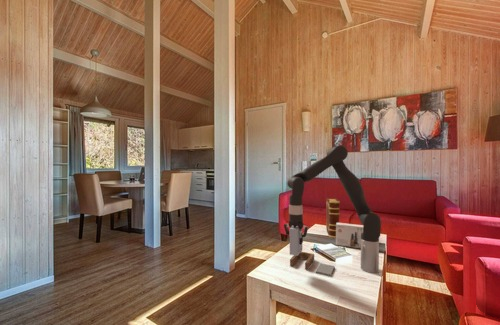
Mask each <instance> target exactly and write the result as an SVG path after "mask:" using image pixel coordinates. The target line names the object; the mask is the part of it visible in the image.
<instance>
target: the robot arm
mask: <svg viewBox="0 0 500 325" xmlns="http://www.w3.org/2000/svg"><path fill="white" fill-rule="evenodd" d="M348 154H349V153H348V149H347V148H346V147H345V146H344V145H336V146H333V147H330V148H329V149H328V150H327V151H326V156H324V157H323V158H321V159H319V160H317V161H315V162H313V163H312V164H310V165H308V166H307V167H305V168H304V169H303V170H302V171H299V172H297V173H295V174H294V175H292V176H290V177H289V178H288V180H287V182H286V184H287V186H288V188H289V189H290V190H291V189H292V191H291V194H289V198H288V200H289V203H288V223H287V222H286V223H284V224H283V227H284V232H285V234H286V235H287V236H288V237H289V239H290V233H289V229H290V228H291V227H292V228H294V227H295V228H299V237H300V238H299V243H300V245H301V244H302V245H303V243H304V238H306V236H307V233H308V232H309V226H308V225H305V224H304V221H303V220H304V213H303V211H304V210H303V195H304V191H305V183H306V182H311V181H312V180H313V179H315V178H316V177H318V176H319V175H320V174H322V173H323V172H325V171H326V170H328V169H329V168H330V167H332V168H333V170H334V171H335V173H336V175H337V176H338V179H339V181H340V182H341V184H342V187H343V188H344V189H343V190H344V191H345V193H346V194H347V196H348V198H349V200H350V201H351V204H352V205H353V206H354V209H355V211H356V214H357V218H358V219H359V221H360V223H361V225H363V233H361V248H360V269H361V270H362V271H364V272H367V273H372V274H373V273H374V274H379V272H380V270H379V267H380V262H379V260H380V257H379V256H380V254H379V252H380V251H379V248H380V247H379V246H380V245H379V244H380V237H381V229H382V227H381V226H382V221H381V217H380V215H378V214H377V213H375V212H373V211H372V209H371V208H370V206H369V205H368V203H367V202H368V201H366V196H365V195H366V194H365V191H364V189H363V188H364V187H363V186H362V183H361V182H360V180H359V179H358V177H357V176H356V175H355V173H353V172H352V171H351V170H350V169H349V168H348V167H347V165H346V164H345V162H344V160H345V159H347V158H348ZM301 229H302V230H301ZM300 230H301V231H300Z"/></svg>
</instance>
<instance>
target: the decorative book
mask: <svg viewBox="0 0 500 325" xmlns="http://www.w3.org/2000/svg"><path fill="white" fill-rule="evenodd" d="M340 202H341V201H340V200H339V199H338V198H336V197H334V198H328V197H326V207H325V208H326V215H325V216H326V217H325V218H326V219H325V220H326V224H325V226H326V229H325V230H326V232H327V234H328V237H329V238H331V239H332V238H334V239H336V223H340V214H341V213H340Z"/></svg>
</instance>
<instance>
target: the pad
mask: <svg viewBox="0 0 500 325" xmlns="http://www.w3.org/2000/svg"><path fill="white" fill-rule="evenodd" d="M334 270H335V265H331V264H326V263H323V262H320V263H319V265H318V266H317V268H316V270H315V274H319V275H324V276H327V277H332V274H333V272H334Z"/></svg>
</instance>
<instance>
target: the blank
mask: <svg viewBox="0 0 500 325" xmlns="http://www.w3.org/2000/svg"><path fill="white" fill-rule="evenodd" d="M288 229H289V233H290V238H289V255H292V256H294V255H296V256H298V255H299V254H300V253H301V251H302V252H303V243H302V244H301V245H300V243H299V238H300V237H299V228H295V227H294V228H292V227H291V228H290V227H289V228H288ZM301 230H302V231H303V228H302V229H301ZM301 230H300V231H301Z"/></svg>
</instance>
